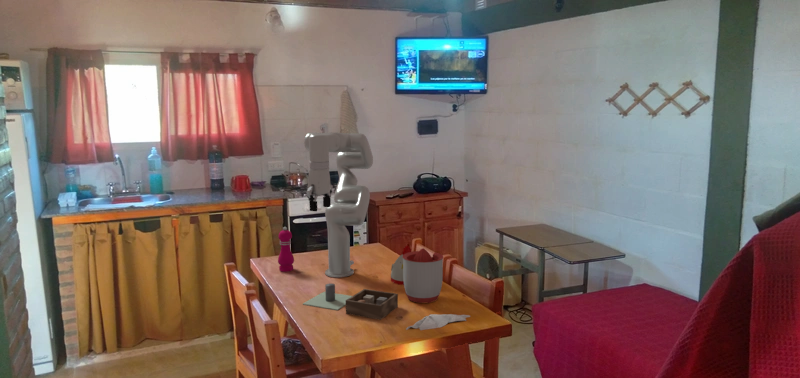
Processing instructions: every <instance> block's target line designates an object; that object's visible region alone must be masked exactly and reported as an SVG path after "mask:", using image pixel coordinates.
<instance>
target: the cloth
mask: <svg viewBox="0 0 800 378" xmlns="http://www.w3.org/2000/svg"><path fill="white" fill-rule="evenodd" d="M470 317H471V315H469V314H456V313H455V314H452V313H450V314H448V313H447V314H445V313H444V314H436V313H435V314H434V313H433V314H429V315H427V316H424V317H423V318H422V319H419V320H418V321H416V322H415V323H414V324H412V325H409V326H407V327H406V329H405V330H406V331H407V330H409V329H410V328H413V329H419V330H420V331H424V330H431V329H437V328H442V327H445V326H447V324H448V323H454V322H455V323H457V322H458V323H459V322H462V321H465V322H467V318H470Z"/></svg>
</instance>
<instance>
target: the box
mask: <svg viewBox="0 0 800 378" xmlns="http://www.w3.org/2000/svg"><path fill="white" fill-rule="evenodd" d="M351 296H352V297H350V298H349V299H347V300H346V305H345V315H349V316H350V315H352V316H357V317H361V318H362V317H363V318H367V319H368V318H369V319H373V320H379V321H381V320H383V319H384V318H385V317H387V316H388V315H389V314H390V313H391V312H393V311H394V310H396V309H397V308H398V307H399V305H398V303H399V301H398V298H399V295H398V293H393V292H387V291H380V290H375V289H369V288H363V289H362V290H360V291H358V292H357V293H355V294H353V295H351Z"/></svg>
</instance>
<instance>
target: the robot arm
mask: <svg viewBox="0 0 800 378" xmlns="http://www.w3.org/2000/svg"><path fill="white" fill-rule="evenodd" d="M303 144H304V148H305V150H307V151H308V152H309V157H308V158H309V171H308V177H307V190H306V192H305V193H306V196H307V198H308V199H307V200H308V201H309V211H310V212H317V211H318V201H317V199H318V197H319V196H323V197H322V202H323V203H322V204H323V205H322V206H323V208H325V211H324V215H325V216H324V217H325V220H326V227H327V251H328V252H327V253H328V256H327V258H328V259H327V260H328V268H327V269H325V272H324V273H325V274H324V275H326V276H327V277H329V278H346V277H347V278H348V277H349V276H352V275H353V274H354V269H353V268H351V266H352V265H354V264H355V261H354V260H351V249H350V248H351V247H350V246H351V245H350V244H351V242H350V239H351V236H350V232H349V229H347V227H346V226H351V227H352V226H353V227H354V226H355V227H356V226H357V227H358V226H361V225H363V223H364V222H365V219H366V217H367V213H368V212H367V211H368V209H369V204H370V198H371V196H370V195H371V194H370V190H369V188H368V187H367V186H365V185H358V178H357V177H356V175H355V173H353V171H351V170H368V169H370V168H371V167H373V164H374V157H373V153H372V150H371V146H370V143H369V140H368V138H367V136H366V135H365V134H364V133H357V132H356V133H351V132H349V133H347V132H309V133H307V134H306V135H305V137H304V139H303ZM329 153H337V154H336V156H335V157H336V158H335V161H336V162H335V163H336V169H337V173H338V182H337V185H336V189H335V191H334V196H333V200H334V203H333V202H331V200H332V199H331V197H332V193H333V187H334V186H333V185H332V184H331V176H330V155H329Z"/></svg>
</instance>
